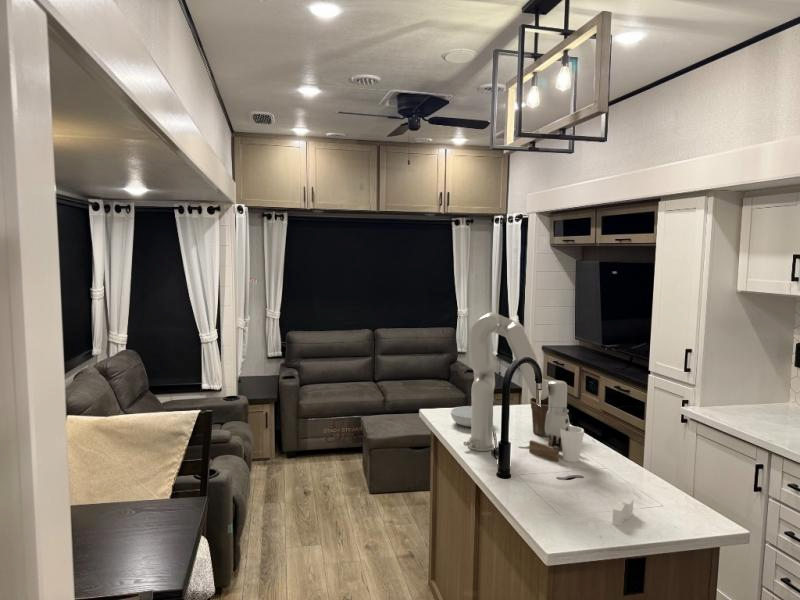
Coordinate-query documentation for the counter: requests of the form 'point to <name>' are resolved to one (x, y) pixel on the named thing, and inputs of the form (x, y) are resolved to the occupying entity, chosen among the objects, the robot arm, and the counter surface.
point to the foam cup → (571, 443)
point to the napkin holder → (622, 511)
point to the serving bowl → (462, 415)
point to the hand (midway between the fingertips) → (556, 451)
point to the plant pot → (539, 416)
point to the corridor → (545, 450)
